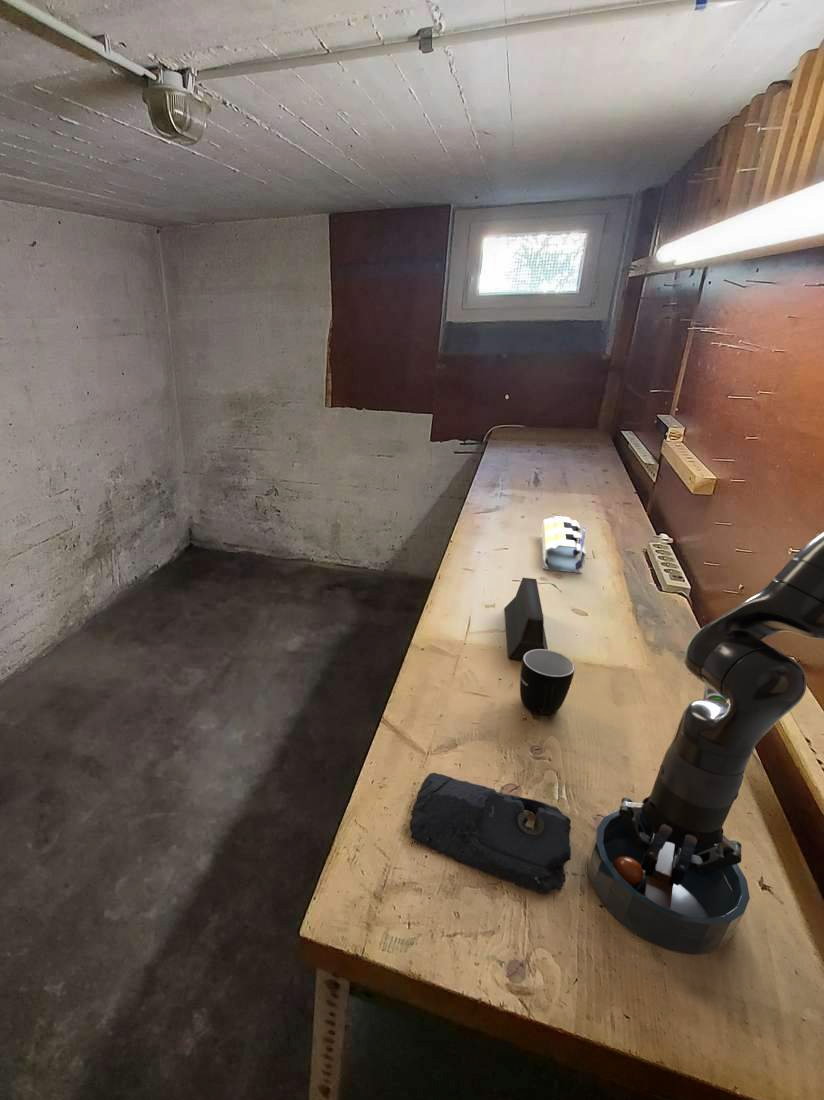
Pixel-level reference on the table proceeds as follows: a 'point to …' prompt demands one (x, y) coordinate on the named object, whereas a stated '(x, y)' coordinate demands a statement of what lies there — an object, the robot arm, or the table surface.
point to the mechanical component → (712, 694)
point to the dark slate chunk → (493, 832)
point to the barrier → (525, 621)
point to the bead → (629, 870)
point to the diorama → (562, 544)
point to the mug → (545, 680)
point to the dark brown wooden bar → (661, 878)
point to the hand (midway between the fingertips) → (658, 875)
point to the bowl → (696, 905)
